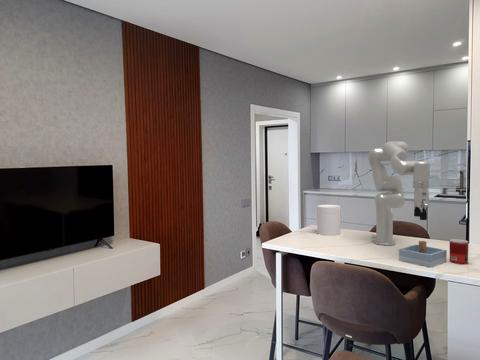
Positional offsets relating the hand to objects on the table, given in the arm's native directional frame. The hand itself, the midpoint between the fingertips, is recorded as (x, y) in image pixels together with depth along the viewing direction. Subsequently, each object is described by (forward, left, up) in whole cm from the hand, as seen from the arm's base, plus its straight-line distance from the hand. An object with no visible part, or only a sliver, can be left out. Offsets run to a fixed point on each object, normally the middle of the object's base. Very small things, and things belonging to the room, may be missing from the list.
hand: (420, 218), depth 186 cm
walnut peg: (+3, -3, -22) cm, 22 cm away
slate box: (+3, -3, -22) cm, 22 cm away
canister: (-75, +16, -22) cm, 80 cm away
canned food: (+15, +9, -22) cm, 28 cm away
